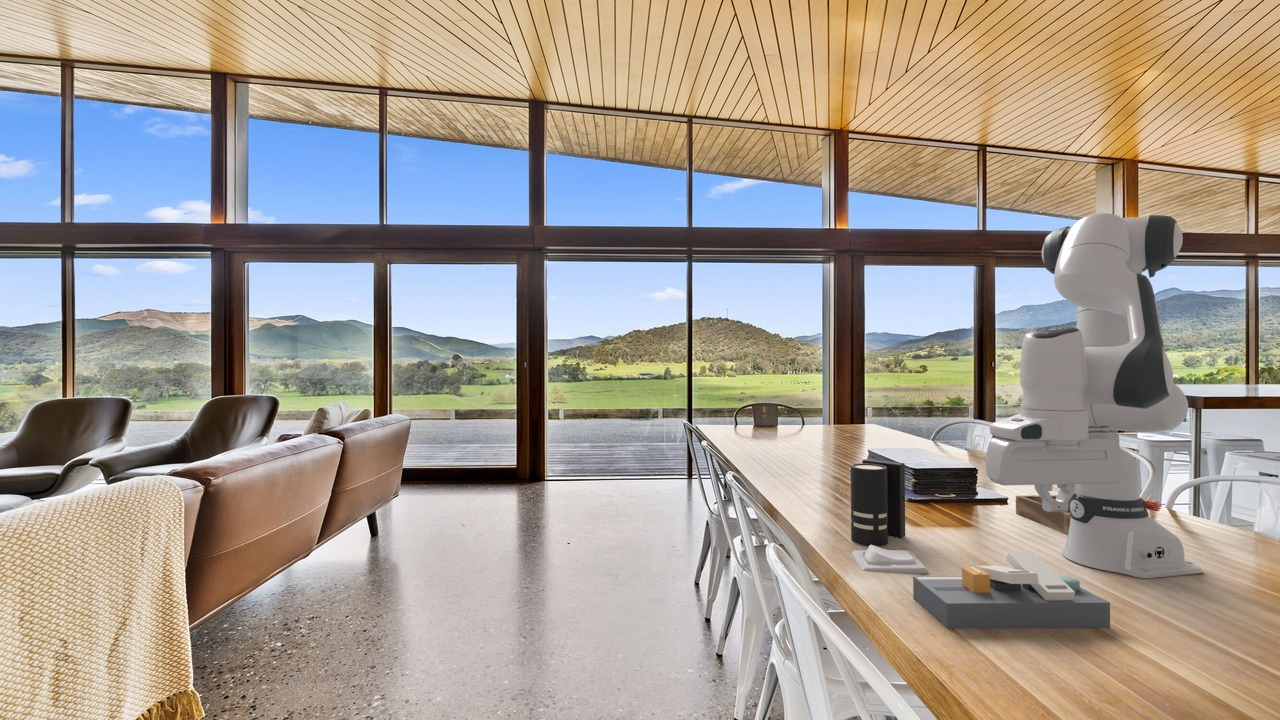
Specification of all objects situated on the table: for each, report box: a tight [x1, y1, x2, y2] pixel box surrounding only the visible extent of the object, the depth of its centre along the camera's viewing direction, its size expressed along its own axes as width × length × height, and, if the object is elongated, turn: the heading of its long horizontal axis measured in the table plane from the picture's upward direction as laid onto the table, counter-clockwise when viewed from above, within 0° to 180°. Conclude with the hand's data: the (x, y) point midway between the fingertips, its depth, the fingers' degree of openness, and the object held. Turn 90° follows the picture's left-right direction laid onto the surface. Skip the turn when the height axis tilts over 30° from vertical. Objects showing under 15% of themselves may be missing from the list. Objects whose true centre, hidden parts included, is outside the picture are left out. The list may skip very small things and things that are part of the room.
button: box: [1058, 575, 1081, 592], centre depth 93 cm, size 3×3×1 cm
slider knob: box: [961, 566, 990, 593], centre depth 93 cm, size 3×3×3 cm
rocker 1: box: [973, 565, 1039, 584], centre depth 93 cm, size 4×10×2 cm, turn 179°
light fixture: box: [850, 458, 906, 548], centre depth 132 cm, size 10×14×18 cm
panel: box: [912, 575, 1111, 629], centre depth 93 cm, size 26×11×5 cm, turn 89°
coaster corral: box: [1015, 494, 1071, 536], centre depth 143 cm, size 19×19×5 cm
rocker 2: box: [1006, 551, 1075, 601], centre depth 93 cm, size 4×10×2 cm, turn 179°
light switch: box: [851, 545, 930, 574], centre depth 117 cm, size 11×4×13 cm
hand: (1055, 510), depth 89 cm, fingers closed
